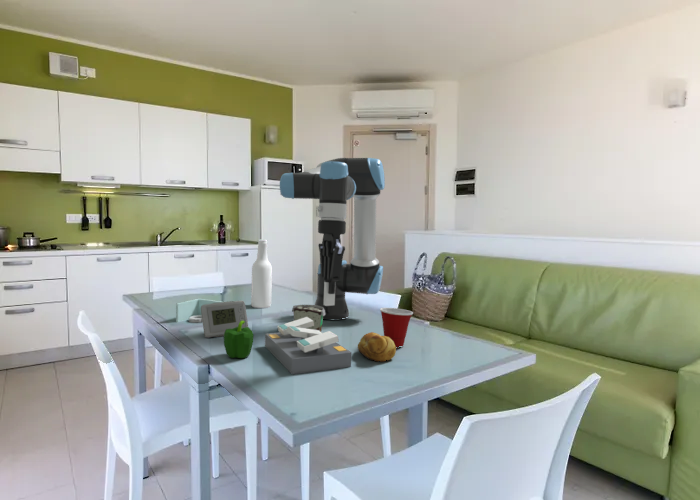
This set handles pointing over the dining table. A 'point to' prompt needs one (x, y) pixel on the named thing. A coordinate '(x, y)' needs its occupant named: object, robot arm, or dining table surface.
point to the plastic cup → (395, 324)
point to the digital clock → (222, 317)
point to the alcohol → (261, 278)
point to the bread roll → (377, 347)
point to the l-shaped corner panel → (191, 310)
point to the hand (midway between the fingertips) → (329, 304)
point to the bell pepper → (238, 341)
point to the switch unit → (306, 354)
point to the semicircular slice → (310, 314)
